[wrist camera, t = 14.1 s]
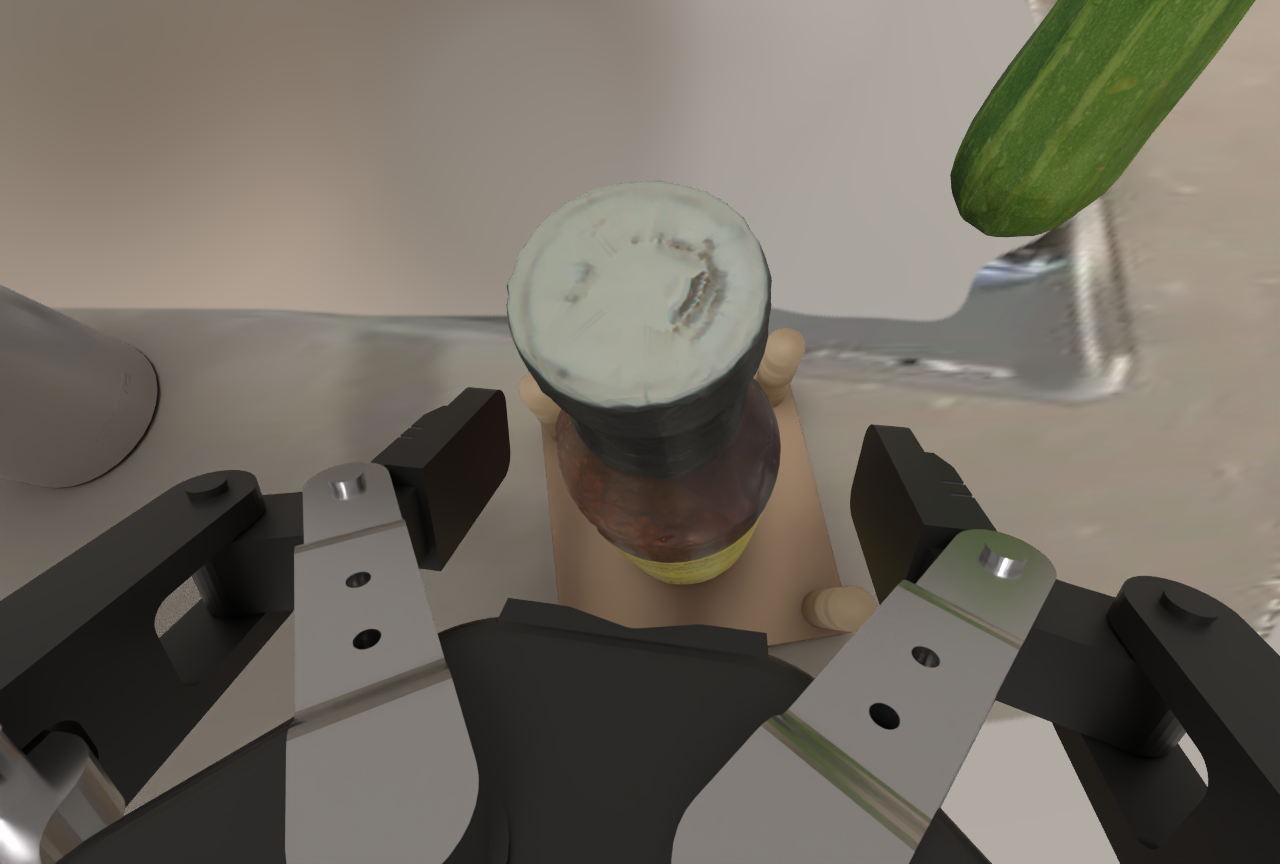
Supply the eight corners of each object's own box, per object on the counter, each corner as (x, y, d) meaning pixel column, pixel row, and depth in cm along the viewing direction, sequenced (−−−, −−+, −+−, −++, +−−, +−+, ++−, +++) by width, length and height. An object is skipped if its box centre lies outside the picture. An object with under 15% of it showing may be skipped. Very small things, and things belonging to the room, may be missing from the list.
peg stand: (572, 673, 26) (533, 694, 20) (546, 419, 31) (507, 367, 24) (843, 631, 26) (897, 638, 19) (781, 379, 30) (807, 315, 23)
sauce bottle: (775, 532, 26) (997, 337, 7) (670, 614, 25) (616, 633, 7) (690, 428, 28) (691, 61, 9) (590, 502, 27) (370, 268, 9)
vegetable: (918, 245, 32) (1257, -289, 13) (939, 148, 34) (1262, -442, 15) (1054, 274, 31) (1651, -269, 12) (1069, 171, 33) (1603, -439, 14)
